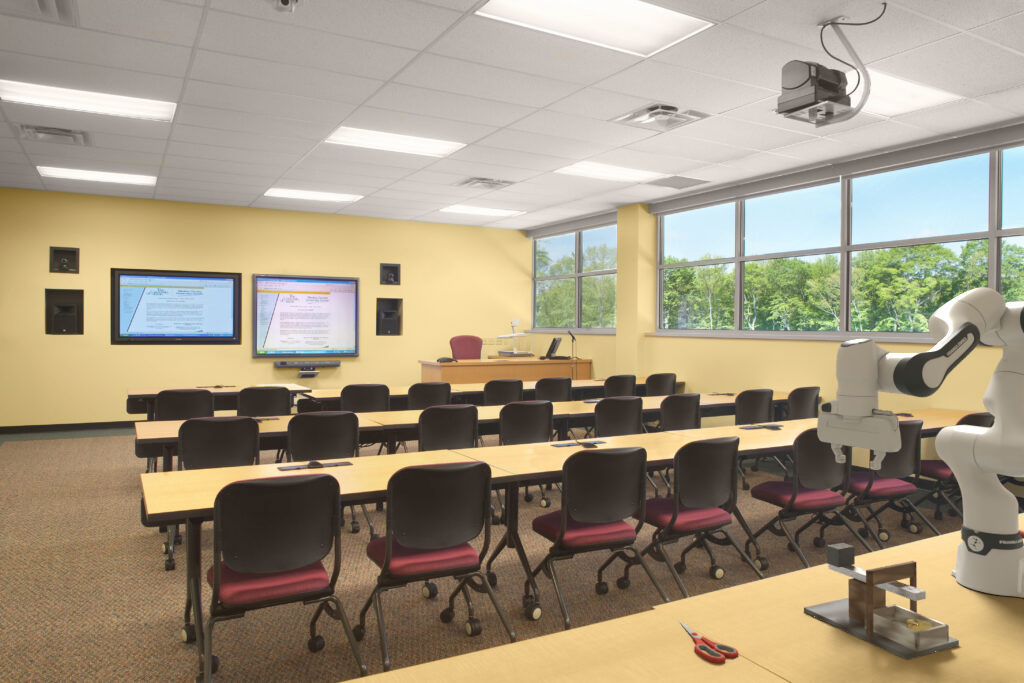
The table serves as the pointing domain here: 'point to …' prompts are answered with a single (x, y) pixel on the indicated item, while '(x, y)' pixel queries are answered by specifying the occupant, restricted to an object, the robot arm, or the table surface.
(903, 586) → the steel shaft
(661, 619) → the table surface
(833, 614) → the shaft stand
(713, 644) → the scissors
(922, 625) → the brass spacer
